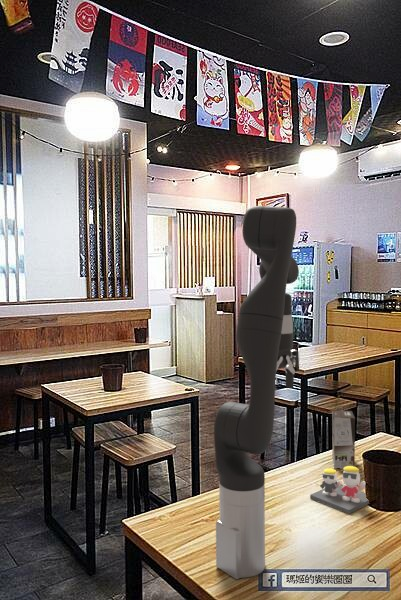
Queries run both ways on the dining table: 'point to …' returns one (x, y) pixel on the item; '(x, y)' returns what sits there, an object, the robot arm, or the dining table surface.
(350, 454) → the coffee box
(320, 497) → the mat
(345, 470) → the toy figures
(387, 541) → the dining table surface
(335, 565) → the dining table surface
